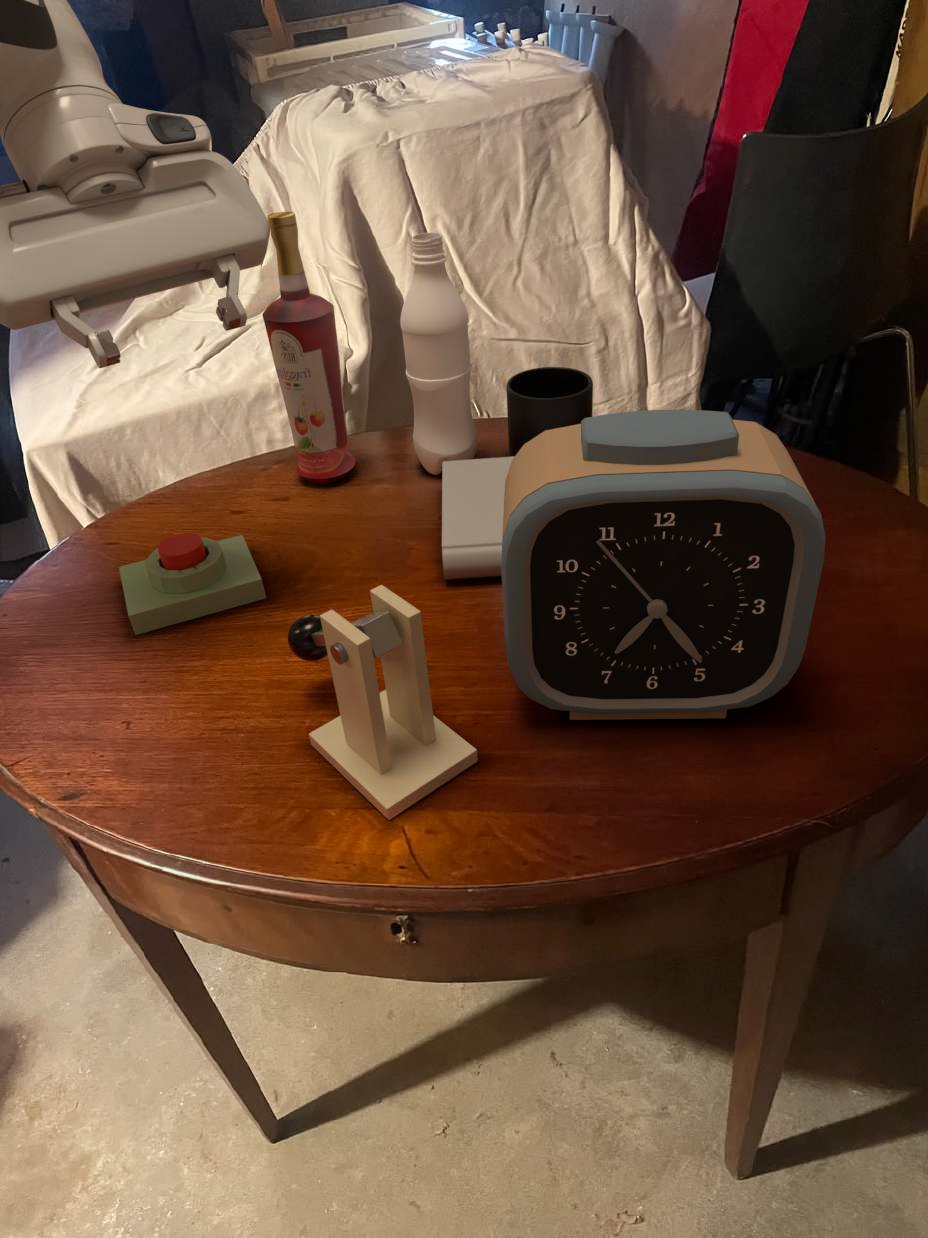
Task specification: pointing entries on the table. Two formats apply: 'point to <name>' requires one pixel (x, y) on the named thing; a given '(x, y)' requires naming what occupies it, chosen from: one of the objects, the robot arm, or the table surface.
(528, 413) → the mug
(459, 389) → the water bottle
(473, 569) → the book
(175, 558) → the button
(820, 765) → the table surface
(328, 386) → the liquor
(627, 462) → the alarm clock
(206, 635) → the table surface
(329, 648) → the bracket
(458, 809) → the table surface
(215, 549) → the button box
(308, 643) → the lever
